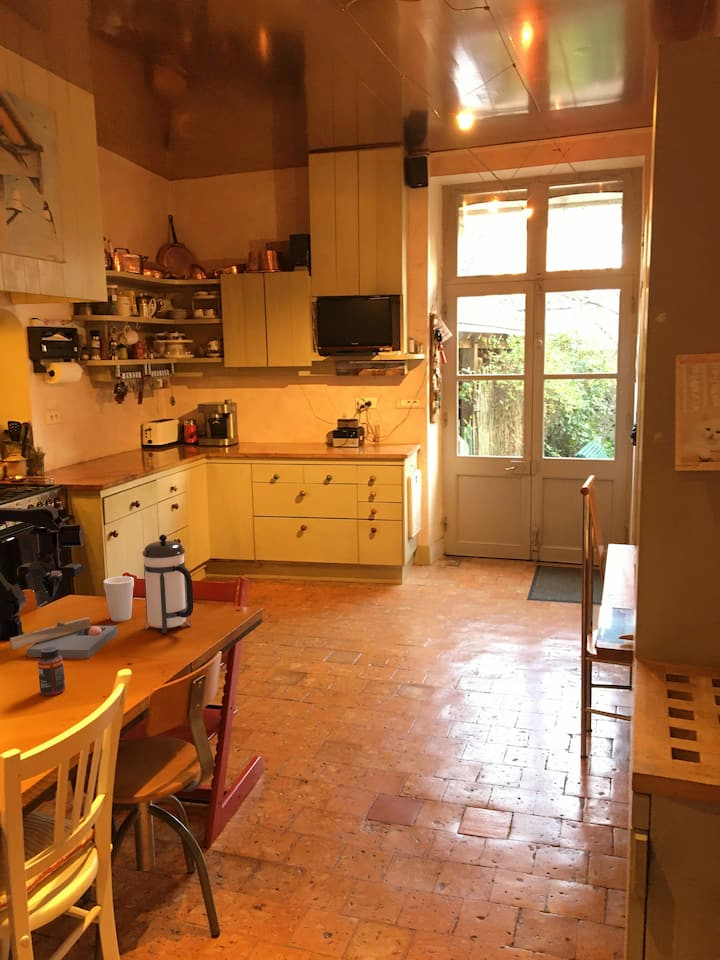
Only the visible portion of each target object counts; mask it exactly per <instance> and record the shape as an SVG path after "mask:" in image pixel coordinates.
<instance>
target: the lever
mask: <svg viewBox="0 0 720 960" xmlns="http://www.w3.org/2000/svg"><path fill="white" fill-rule="evenodd" d="M90 626H91V618H90V617H88V616H86V617H82V618H79V619H78V618H77V619H75V620H71V621H68V622H64V621H59V622H57V623H56V625H54V626H53V625H52V626H48V627H46V628H42V629H39V630H34V631H32V632H28V633H23V634H22V635H19V636H16V637H12V638H10V640H9V647H10V649H11V650H16V649H18V648H19V649H20V648H22V647H23V648H24V647H26V646H31V645H34V644H35V643H37V642H41V641H44V640H48V639H52V638H55V637H59V636H62V635H66V634H69V633H73V632H76V631H80V630H83V629H87V628H90Z"/></svg>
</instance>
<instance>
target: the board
mask: <svg viewBox="0 0 720 960" xmlns="http://www.w3.org/2000/svg"><path fill="white" fill-rule="evenodd" d="M94 626H95V625H90V628H92V627H94ZM96 626H97V627H99V628H101V630H102V632H101V633H100V634H99V635H97V636H89V635H88V631H89V629H90V628H87V629H83V630H80V631H76V632H73V633H69V634H66V635H62V636H59V637H55V638H52V639H48V640H44V641H41V642H37V643H34V644H31V645H30V646H28V648H27V649H26V655H27V656H28V657H41V650H42V649H43V648H46V647H57V648H58V654H59V655H61V656H62V658H63V659H89V658H91V657H92V656H93V655H94V654H95V653H97V652H98V651H100V649H101V648H103V647H104V646H105V645H106V644H107V643H109V642H110V641H111V640H112V639H113V638H115V637H116V636H117V635H118V634H119V631H118V625H96ZM27 656H26V657H27Z"/></svg>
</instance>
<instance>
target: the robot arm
mask: <svg viewBox="0 0 720 960" xmlns="http://www.w3.org/2000/svg"><path fill="white" fill-rule="evenodd" d="M0 522H9V523H10V522H11V523H12V522H13V523H23V524H27V525H30V526H32V527H33V526H34V528H33V529H32V530H31V531H29V535H37V547H38V551H37V552H36V553H35V560H33V561H32V562H26V563H24V564H21V565H19V566H18V567H17V570H16V571H17V572H16V574H17V577H27V576H28V575H29V576H30V577H31V578H34V579H36V580H39V581H40V582H42V584H43V586H44V587H45V590H46V592H47V594H48V596H49V597H50V598H54V597H55V595H56V593H57V590H58V587H59V584H60V582H61V581H62V578H63V577H64V578H73V577H76V576H78V575H81V574H83V573H84V569H83V566H82V564H80V563H69V564H67V565H64V566H63V562H62V561H60V553H62V549H61V548H59V545H60V546H62V547H63V548H66V547H67V548H69V547H83V546H84V545H85V533H84V530H83V528H82V524H81V523H75V524H66V522H65V521H64V520H63V518H61V517H60V516H59V512H58V511H57V509H56V508H55V507H54V506H52V505H42V506H36V507H29V508H16V507H13V508H12V507H11V508H10V507H0ZM25 595H26V593H25V592H24V591H23V590H22V589H21V586H20V585H19V584H18V583H16V584H14V585H13V584H11V583H9V581H7V579H6V578H5V576H4V575H3V574H2V572H1V571H0V641H10V638H12V637H16V636H19V635H23V634H25V633H24V631H23V626H22V625H23V623H22V620H21V616H20V615H18V614H19V613H20V612H21V609H22V608H24V606H25V604H26V602H27V598H26V596H25Z"/></svg>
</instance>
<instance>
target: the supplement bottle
mask: <svg viewBox="0 0 720 960" xmlns="http://www.w3.org/2000/svg"><path fill="white" fill-rule="evenodd" d="M64 667H65V666H64V658H62V656H61V655H59V654H58V648H57V647H46V648H43V649H42V650H41V658H38V660H37V670H38V681H39V682H38V684H39V691H40V694H41V695H42V696H46V697H47V696H49V697H51V696H56V695H59V694H61V693H63V692H64V691H65V690H66V682H65V679H66V678H65V668H64Z"/></svg>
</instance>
